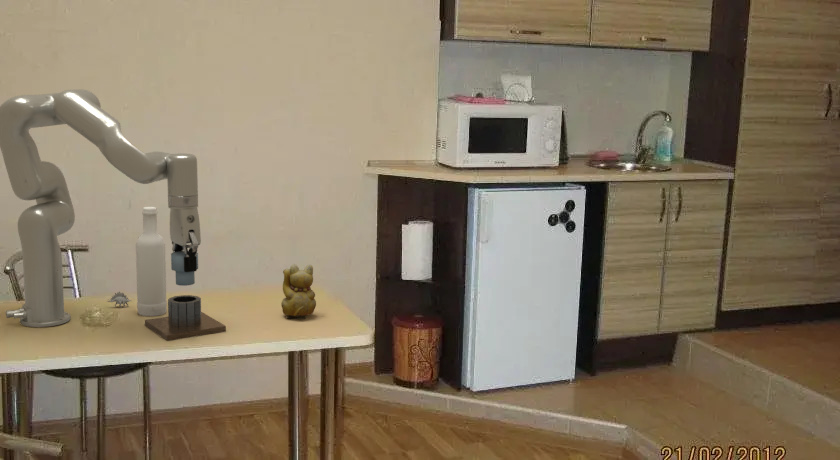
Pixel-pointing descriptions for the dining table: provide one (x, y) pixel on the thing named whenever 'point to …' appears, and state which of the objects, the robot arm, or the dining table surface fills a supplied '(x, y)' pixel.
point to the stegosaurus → (119, 299)
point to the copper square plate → (184, 320)
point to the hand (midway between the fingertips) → (184, 268)
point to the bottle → (151, 267)
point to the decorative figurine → (298, 292)
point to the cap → (182, 269)
